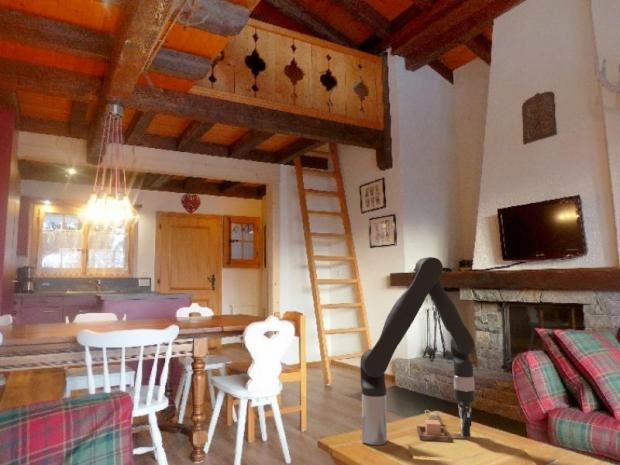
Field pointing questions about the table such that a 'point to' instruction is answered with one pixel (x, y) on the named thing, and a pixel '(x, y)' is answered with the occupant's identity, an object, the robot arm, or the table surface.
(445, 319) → the robot arm
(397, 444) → the table surface
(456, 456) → the table surface
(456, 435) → the tray
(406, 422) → the table surface
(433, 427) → the terracotta cube
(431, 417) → the decorative ornament
